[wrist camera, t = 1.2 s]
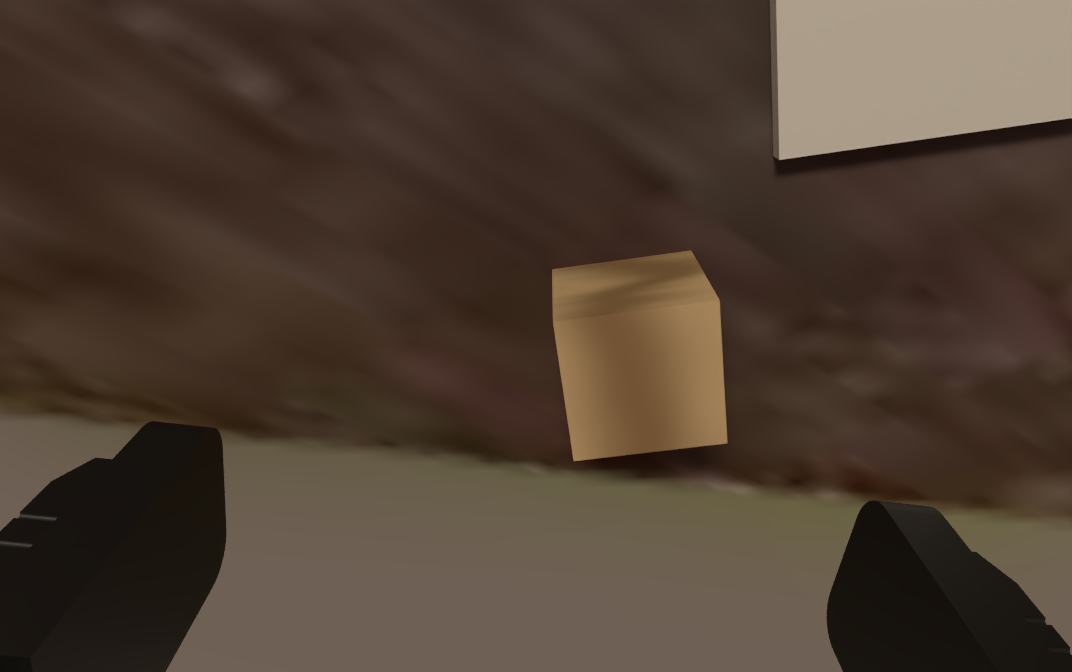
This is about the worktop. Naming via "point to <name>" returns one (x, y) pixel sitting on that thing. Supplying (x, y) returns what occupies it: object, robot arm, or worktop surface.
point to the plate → (914, 70)
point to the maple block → (639, 355)
